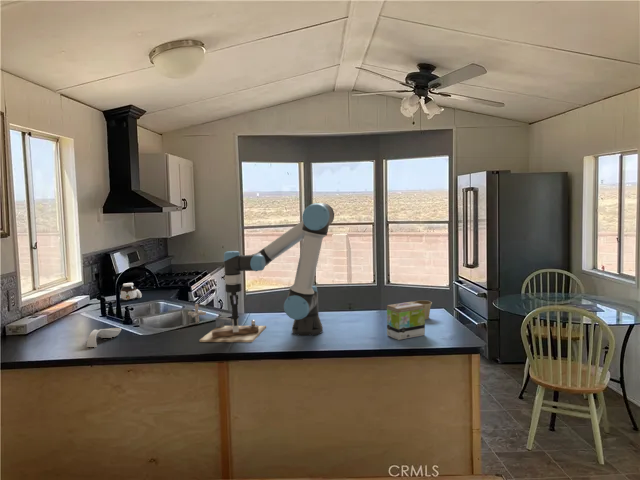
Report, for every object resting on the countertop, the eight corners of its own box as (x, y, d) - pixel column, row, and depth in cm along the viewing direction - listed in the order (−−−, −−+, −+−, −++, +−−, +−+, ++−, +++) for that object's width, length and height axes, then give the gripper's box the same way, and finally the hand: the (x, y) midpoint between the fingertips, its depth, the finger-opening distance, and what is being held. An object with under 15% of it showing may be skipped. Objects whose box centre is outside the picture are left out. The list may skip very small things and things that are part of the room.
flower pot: (434, 317, 253) (434, 301, 253) (428, 321, 246) (428, 304, 245) (418, 315, 258) (417, 299, 258) (411, 319, 251) (411, 303, 250)
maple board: (266, 327, 246) (266, 325, 246) (252, 342, 221) (252, 339, 221) (218, 327, 250) (218, 325, 250) (199, 341, 225) (199, 339, 225)
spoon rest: (103, 334, 246) (102, 321, 245) (125, 333, 246) (124, 320, 245) (79, 348, 222) (78, 333, 222) (104, 347, 222) (103, 333, 222)
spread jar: (119, 301, 332) (118, 284, 331) (128, 297, 343) (127, 281, 342) (135, 301, 330) (134, 284, 329) (144, 297, 341) (142, 281, 340)
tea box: (399, 340, 214) (398, 308, 213) (386, 335, 223) (385, 304, 222) (425, 335, 221) (425, 304, 220) (412, 330, 230) (411, 300, 229)
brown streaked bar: (257, 329, 237) (257, 324, 237) (259, 332, 232) (259, 327, 232) (211, 335, 230) (211, 330, 229) (213, 338, 225) (212, 332, 225)
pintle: (255, 325, 234) (255, 320, 234) (254, 326, 233) (254, 321, 232) (252, 325, 235) (251, 320, 234) (251, 326, 233) (250, 321, 233)
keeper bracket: (235, 328, 243) (234, 318, 243) (231, 329, 241) (230, 320, 240) (220, 325, 249) (219, 316, 249) (216, 327, 247) (215, 317, 246)
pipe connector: (201, 325, 257) (200, 306, 256) (184, 324, 259) (183, 306, 258) (209, 320, 266) (208, 302, 265) (193, 320, 268) (192, 302, 267)
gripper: (224, 282, 232) (227, 329, 234) (225, 286, 220) (228, 336, 221) (240, 280, 234) (242, 327, 236) (241, 284, 221) (244, 334, 223)
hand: (235, 331), depth 228 cm, fingers closed
